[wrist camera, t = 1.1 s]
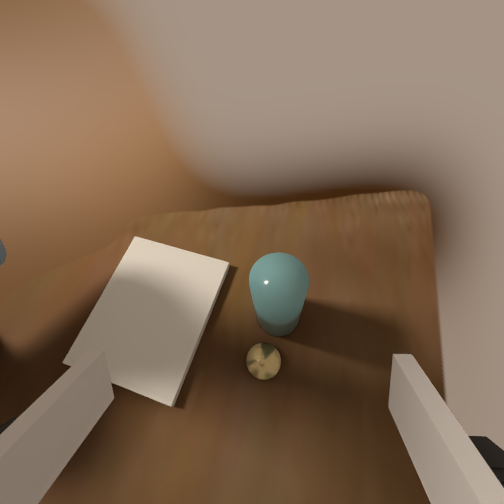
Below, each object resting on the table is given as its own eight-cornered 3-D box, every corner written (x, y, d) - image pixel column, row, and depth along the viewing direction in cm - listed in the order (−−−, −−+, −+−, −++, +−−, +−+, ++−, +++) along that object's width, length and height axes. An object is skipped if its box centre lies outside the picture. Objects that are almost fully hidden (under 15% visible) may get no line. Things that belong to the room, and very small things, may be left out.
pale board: (67, 364, 41) (62, 362, 40) (138, 239, 49) (135, 236, 48) (173, 406, 37) (170, 406, 36) (230, 265, 46) (228, 262, 45)
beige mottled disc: (242, 373, 39) (241, 372, 38) (253, 340, 41) (252, 338, 40) (275, 385, 38) (275, 384, 37) (284, 350, 40) (284, 348, 39)
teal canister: (250, 328, 41) (240, 298, 30) (263, 289, 44) (259, 246, 32) (293, 342, 40) (300, 316, 29) (304, 300, 43) (315, 261, 31)
